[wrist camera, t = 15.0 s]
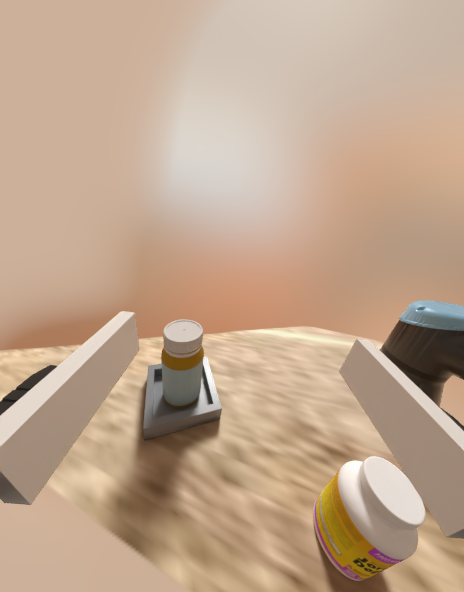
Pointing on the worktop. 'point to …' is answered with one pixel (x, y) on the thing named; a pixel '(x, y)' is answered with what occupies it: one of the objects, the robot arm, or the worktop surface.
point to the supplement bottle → (368, 518)
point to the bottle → (182, 362)
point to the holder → (173, 419)
